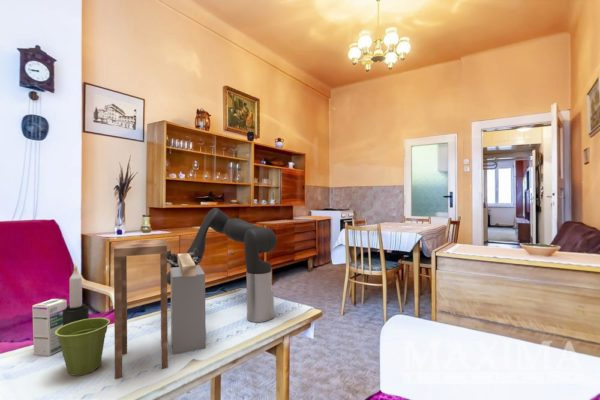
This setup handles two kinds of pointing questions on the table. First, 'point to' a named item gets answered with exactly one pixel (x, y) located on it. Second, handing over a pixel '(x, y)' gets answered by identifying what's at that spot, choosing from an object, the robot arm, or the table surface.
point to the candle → (75, 301)
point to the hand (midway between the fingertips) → (183, 251)
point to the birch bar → (186, 265)
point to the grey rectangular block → (187, 311)
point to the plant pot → (82, 344)
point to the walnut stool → (121, 295)
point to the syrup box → (47, 326)
